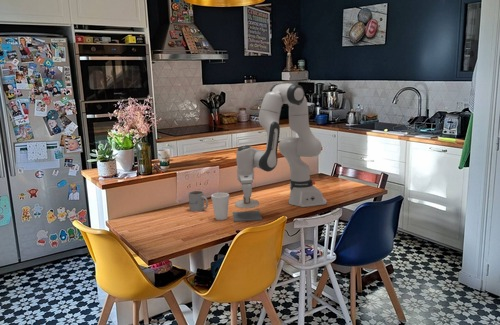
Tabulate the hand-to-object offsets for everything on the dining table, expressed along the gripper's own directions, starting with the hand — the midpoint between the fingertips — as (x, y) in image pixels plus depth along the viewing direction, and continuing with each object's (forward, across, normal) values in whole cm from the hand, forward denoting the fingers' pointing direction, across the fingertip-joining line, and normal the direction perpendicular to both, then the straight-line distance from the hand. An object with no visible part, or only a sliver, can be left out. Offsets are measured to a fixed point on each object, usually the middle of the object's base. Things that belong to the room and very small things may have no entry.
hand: (247, 200), depth 232 cm
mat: (+9, +1, 0) cm, 9 cm away
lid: (+2, 0, 0) cm, 2 cm away
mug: (+9, -16, -27) cm, 33 cm away
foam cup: (+9, +1, -14) cm, 17 cm away
